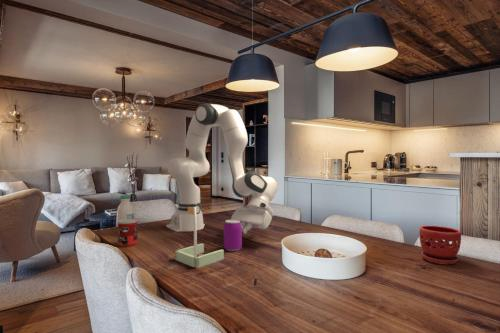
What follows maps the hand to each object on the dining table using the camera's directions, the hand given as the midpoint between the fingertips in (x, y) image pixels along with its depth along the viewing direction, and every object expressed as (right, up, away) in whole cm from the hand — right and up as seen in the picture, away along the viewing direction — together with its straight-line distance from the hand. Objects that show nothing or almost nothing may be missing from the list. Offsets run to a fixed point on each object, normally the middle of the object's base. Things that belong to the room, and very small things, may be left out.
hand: (242, 232), depth 134 cm
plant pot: (+74, -6, -20) cm, 77 cm away
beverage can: (-4, -6, -4) cm, 8 cm away
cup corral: (-16, -7, -17) cm, 24 cm away
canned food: (-52, -6, +4) cm, 52 cm away
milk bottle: (-60, -6, +22) cm, 64 cm away
